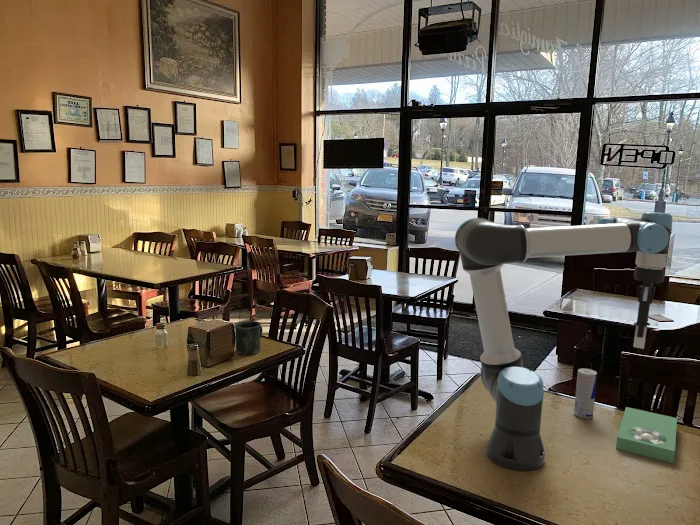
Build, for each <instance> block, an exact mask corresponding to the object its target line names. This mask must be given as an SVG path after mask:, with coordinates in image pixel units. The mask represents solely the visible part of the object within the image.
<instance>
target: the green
mask: <svg viewBox="0 0 700 525" xmlns="http://www.w3.org/2000/svg"><path fill="white" fill-rule="evenodd" d="M677 423H678V418H677V417H673V416H670V415H664V414H659V413H656V412H655V413H654V412H650V411H646V410H643V409H638V408H632V407H628V406H625V410H624V413H623V416H622V419H621V422H620V426H619V430H618V432H617V437H616V446H615V449H616V450H621V451H625V452H626V453H627V452H628V453H632V454H635V455H640V456H643V457H646V458H647V457H648V458H650V459H651V458H652V459H654V460H655V459H656V460H659V461H663V462H667V463H671V464H674V460H675V453H676V439H677V425H678V424H677ZM643 433H648V434H650V435H652V436H653V437H654V439H655V440H647V439H643V438H641V437H640V435H641V434H643Z"/></svg>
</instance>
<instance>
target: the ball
mask: <svg viewBox="0 0 700 525" xmlns="http://www.w3.org/2000/svg"><path fill="white" fill-rule="evenodd" d="M640 437H641V438H643V439H647V440H655V439H654V437H653V436H652V435H650V434H648V433H643V434H641V435H640Z"/></svg>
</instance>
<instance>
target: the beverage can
mask: <svg viewBox="0 0 700 525" xmlns="http://www.w3.org/2000/svg"><path fill="white" fill-rule="evenodd" d="M597 380H598V372H597V371H596V370H593V369H590V368H578V370H577V377H576V388H575V396H574V397H575V399H574V409H573V410H574V411H573V414H575V415H576V417H579V418H581V419H591V418H593V417H594V407H595V399H596V398H595V397H596V389H597V388H596V387H597Z"/></svg>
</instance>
